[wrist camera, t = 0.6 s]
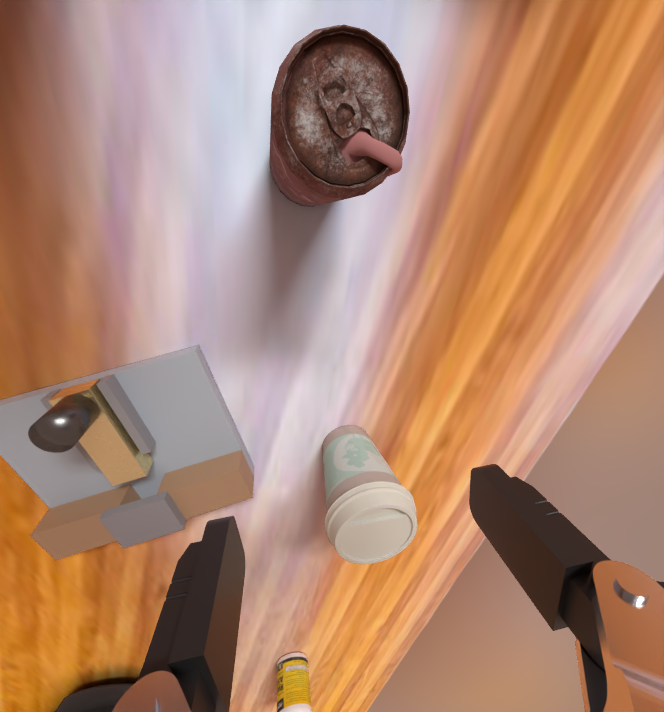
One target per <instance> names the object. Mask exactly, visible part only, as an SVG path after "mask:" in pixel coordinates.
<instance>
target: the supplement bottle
mask: <svg viewBox="0 0 664 712" xmlns="http://www.w3.org/2000/svg"><path fill="white" fill-rule="evenodd" d="M277 712H312V710H311V697H310V685H309V672H308V660H307V656H306V655H305V654H304V653H300V652H294V653H289V654H286V655H284V656H283V657H281V658H280V659H279V660H278V662H277Z"/></svg>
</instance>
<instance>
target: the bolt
mask: <svg viewBox="0 0 664 712" xmlns="http://www.w3.org/2000/svg"><path fill="white" fill-rule="evenodd" d="M100 380H101V379H96V380H92V381H89V382H85V383H82V384H78V385H74V386H71V387H67V388H64V389H62V390H61V391H59V392H58V393H57V394H56V395H55V396H54V397H52V398H51V399H50V400H49V403H50V404H51V405H52V408H51V409H49V410H48V411H47V412H46V413H45V414H44V415H43V416H42V417H40V418H39V419H38V420H37V421H36V422H35V423H34V424H32V425H31V427H30V428H29V431H28V436H29V439H30V441H31V442H32V443H33V444H34V445H35V446H36V447H38V448H40V449H41V450H44V451H47V452H52V453H60V452H65V451H68V450H70V449H71V448H73V447H74V446H75V444H76V443H77V442H78V441H79V442H80V444H81V445H82V446H83V448H84V449H85V450H86V451H87V453H88V454H89V455H90V457H91V458H92V459H93V461H94V462H95V463H96V465H97V466H98V467H99V469H100V470H101V471H102V473H103V474H104V475H105V476H106V478H107V479H108V480H109V482H110V483H111V484H112V486H115V485H119V484H122V483H125V482H129V481H132V480H135V479H138V478H142V477H145V476H147V474H148V472H149V470H150V468H151V466H152V463H153V460H152V458H151V457H150V455H149V454H148V453H146V454H143V455H142V453H141V452H140V450H139V449H138V447H137V446H136V444H135V443H134V441H133V440H132V438H131V437H130V435H129V434H128V432H127V431H126V429H125V428H124V426H123V425H122V423H121V422H120V420H119V418H118V417H117V415H116V414H115V412H114V411H113V409H112V408H111V406H110V405H109V403H108V402H107V400H106V399H105V397H104V396H103V394H102V393H101V391H100V390H99V388H98V387H97V385H96V384H97V383H98V382H99V381H100Z"/></svg>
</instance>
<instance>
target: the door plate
mask: <svg viewBox="0 0 664 712" xmlns="http://www.w3.org/2000/svg"><path fill="white" fill-rule="evenodd" d="M96 379H101V380H100V381H99V382H98V383H97V384H96V385H97V387H98V388H99V390H100V391H101V393H102V394H103V396H104V397H105V399H106V400H107V402H108V403H109V405H110V406H111V408H112V409H113V411H114V412H115V414H116V415H117V417H118V418H119V420H120V422H121V423H122V425H123V426H124V428H125V429H126V431H127V432H128V434H129V435H130V437H131V438H132V440H133V441H134V443H135V444H136V446H137V447H138V449H139V450H140V452H141V453H142V455H143V454H146V453H148V454H149V455H150V457H151V458H152V460H153V463H152V466H151V468H150V470H149V472H148V474H147V476H145V477H142V478H138V479H135V480H132V481H129V482H125V483H122V484H119V485H115V486H112V484H111V483H110V482H109V480H108V479H107V478H106V476H105V475H104V474H103V473H102V471H101V470H100V469H99V467H98V466H97V465H96V463H95V462H94V461H93V459H92V458H91V457H90V455H89V454H88V453H87V451H86V450H85V449H84V448H83V446H82V445H81V444H80V442H79V441H78V442H77V443H76V444H75V446H74V447H73V448H71V449H70V450H68V451H65V452H60V453H52V452H47V451H44V450H41V449H40V448H38V447H36V446H35V445H34V444H33V443H32V442H31V441H30V439H29V436H28V431H29V428H30V427H31V425H32V424H34V423H35V422H36V421H37V420H38V419H39V418H40V417H42V416H43V415H44V414H45V413H46V412H47V411H48V410H49V409H51V408H52V405H51V404H50V403H49V400H50V399H51V398H52V397H54V396H55V395H56V394H57V393H58V392H59V391H61V390H62V389H64V388H67V387H71V386H74V385H78V384H82V383H85V382H89V381H92V380H96ZM0 455H1V456H2V457H3V458H4V460H5V461H6V462H7V463H8V464H9V465H10V466H11V467H12V468H13V469H14V470H15V471H16V472H17V474H18V475H19V476H20V477H21V478H22V479H23V480H24V481H25V482H26V483H27V484H28V485H29V486H30V488H31V489H32V490H33V491H34V492H35V493H36V494H37V495H38V496H39V497H40V498H41V499H42V500H43V502H44V503H45V504H46V505H47V506H48V507H49V508H50V509H49V510H48V512H47V513H46V514H45V516H44V517H43V518H42V520H41V521H40V522H39V524H38V525H37V526H36V528H35V529H34V530H33V532H32V533H31V534H30V536H31V537H32V538H33V539H34V540H35V541H36V542H37V543H38V544H39V545H40V546H41V547H42V548H43V549H44V550H45V551H46V552H47V553H48V554H49V555H50V556H52V557H53V558H54V559H55V560H59V559H62V558H65V557H68V556H71V555H74V554H77V553H81V552H84V551H87V550H90V549H93V548H96V547H99V546H103V545H106V544H109V543H112V542H115V541H118V543H119V544H120V545H121V546H122V547H123V549H124V548H127V547H130V546H133V545H136V544H139V543H142V542H145V541H149V540H152V539H155V538H158V537H161V536H164V535H167V534H170V533H174V532H177V531H180V530H183V529H184V528H185V524H186V519H187V518H191V517H194V516H197V515H200V514H203V513H206V512H210V511H213V510H216V509H219V508H222V507H225V506H228V505H232V504H235V503H238V502H241V501H244V500H247V499H250V498H253V481H254V465H253V463H252V461H251V458H250V456H249V454H248V452H247V450H246V447H245V445H244V443H243V441H242V439H241V436H240V434H239V432H238V430H237V428H236V425H235V423H234V421H233V419H232V417H231V414H230V412H229V410H228V408H227V406H226V404H225V401H224V399H223V397H222V395H221V393H220V390H219V388H218V386H217V384H216V382H215V379H214V377H213V375H212V373H211V371H210V368H209V366H208V364H207V362H206V360H205V357H204V355H203V353H202V351H201V349H200V347H199V345H197V346H193V347H189V348H186V349H182V350H179V351H175V352H171V353H168V354H164V355H161V356H157V357H153V358H150V359H146V360H142V361H139V362H135V363H132V364H128V365H124V366H121V367H117V368H114V369H110V370H106V371H103V372H99V373H96V374H92V375H88V376H85V377H81V378H78V379H74V380H70V381H67V382H63V383H60V384H56V385H52V386H49V387H45V388H42V389H38V390H34V391H31V392H27V393H24V394H20V395H16V396H13V397H9V398H6V399H2V400H0Z"/></svg>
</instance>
